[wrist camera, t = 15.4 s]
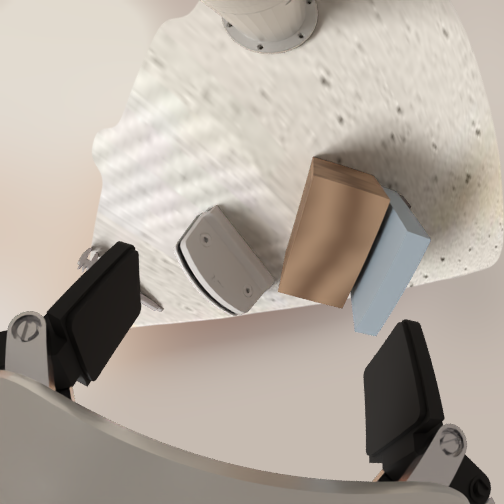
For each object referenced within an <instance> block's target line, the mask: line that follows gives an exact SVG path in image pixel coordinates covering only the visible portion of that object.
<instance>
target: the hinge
mask: <svg viewBox="0 0 504 504" xmlns="http://www.w3.org/2000/svg"><path fill="white" fill-rule="evenodd" d="M174 253H175V256H176V258H177V260H178V262H179V264H180V266H181V268H182V270H183V272H184V273H185V275H186V277H187V278H188V280H189V281H190V282H191V284H192V285H193V286H194V287H195V289H196V290H197V291H198V292H199V293H200V294H201V295H202V296H203V297H204V298H205V299H206V300H207V301H208V302H210V303H211V304H212V305H214V306H215V307H216V308H218V309H220V310H221V311H223V312H225V313H227V314H229V315H234V316H236V315H242V314H244V313H247V312H248V311H249V310H250V309H251V308H252V306H253V305H254V304H255V303H256V302H257V300H258V299H259V298H260V297H261V296H262V294H263V293H264V292H265V291H267V290H268V289H269V288H270V287H271V286H272V285H273V283H274V281H275V279H274V278H273V277H272V275H271V274H270V273H269V271H268V270H267V269H266V268H265V266H264V265H263V264H262V262H261V261H260V260H259V259H258V257H257V256H256V255H255V253H254V252H253V251H252V250H251V248H250V247H249V246H248V244H247V243H246V242H245V241H244V239H243V238H242V237H241V235H240V234H239V233H238V232H237V230H236V229H235V228H234V226H233V225H232V224H231V223H230V221H229V220H228V219H227V218H226V216H225V215H224V214H223V212H222V211H221V210H220V209H219V207H218V206H217V205H216V206H214V207H213V208H212V209H211V210H210V211H207V212H204V213H201V215H200V216H199V217H196V218H195V219H194V220H193V222H192V223H191V224H190V226H189V227H188V228H187V230H186V231H185V233H184V234H183V235H182V237H181V238H180V239H179V241H178V242H177V244H176V245H175V246H174Z"/></svg>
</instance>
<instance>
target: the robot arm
mask: <svg viewBox="0 0 504 504" xmlns="http://www.w3.org/2000/svg"><path fill="white" fill-rule="evenodd" d="M200 1H201V2H203V3H204V4H205V5H207V6H208V7H210V8H211V9H212V10H214V11H215V12H216V13H218V14H219V15H220V16H221V17H222V23H223V25H224V28H225V30H226V32H227V34H228V35H229V36H230V37H231V38H232V39H233V41H235V42H236V43H237V44H239V45H240V46H242V47H244V48H245V49H248V50H250V51H253V52H257V53H262V54H277V53H283V52H287V51H290V50H292V49H294V48H296V47H298V46H300V45H301V44H303V43H304V42H305V41H306V40H307V39H308V38H309V37H310V36H311V34H312V33H313V31H314V30H315V27H316V24H317V19H318V9H317V5H316V2H315V0H200ZM308 2H310V3H311V4H307V3H308ZM230 25H232V27H229V26H230ZM301 35H302V36H303V38H300V36H301ZM261 46H262V47H263V49H260V47H261ZM140 311H141V296H140V278H139V254H138V251H136V250H135V247H134V246H133V245H131V244H127V243H124V242H121V241H119V242H117V243H116V244H115V245H114V246H112V247H111V248H110V249H109V250H108V251H107V252H106V253H105V254H104V255H103V256H102V257H101V258H100V259H99V260H97V261H96V262H95V263H94V264H93V265H92V266H91V267H90V268H89V269H88V270H87V271H86V272H85V273H84V274H83V275H82V276H81V277H80V278H79V279H78V280H77V281H76V282H75V283H74V284H73V285H72V286H71V287H70V288H69V289H68V290H67V291H66V292H65V293H64V294H63V295H62V296H61V297H60V299H59V300H58V301H57V302H56V303H55V304H54V305H53V306H52V307H51V308H50V309H49V310H48V311H47V314H46V315H45V316H44V317H43V316H42V315H40V314H39V313H37V312H33V311H27V312H23V313H20V314H19V315H17V316H15V317H14V319H12V321H11V322H10V324H9V326H8V330H7V331H2V332H0V504H495V502H494V500H493V499H492V497H491V498H489V495H490V491H491V486H490V481H489V479H488V477H487V476H486V475H485V474H484V473H483V472H482V471H481V470H480V469H479V468H478V467H477V466H476V465H475V464H474V463H473V462H472V461H471V460H470V459H469V458H468V457H467V456H466V455H465V453H466V449H467V441H466V437H465V435H464V433H463V431H462V430H461V429H460V428H459V427H458V426H456V425H454V424H445V425H443V423H442V421H443V420H444V413H443V408H442V404H441V399H440V394H439V390H438V386H437V381H436V378H435V374H434V370H433V366H432V362H431V358H430V355H429V351H428V348H427V345H426V341H425V338H424V335H423V332H422V329H421V325H420V323H418V322H415V321H411V320H403V321H402V322H399V323H398V324H397V325H396V326H395V328H394V329H393V331H392V332H391V334H390V335H389V336H388V338H387V340H386V341H385V342H384V344H383V345H382V347H381V348H380V349H379V351H378V352H377V354H376V355H375V356H374V358H373V359H372V360H371V362H370V363H369V364H368V366H367V367H366V368H365V371H364V391H365V415H366V453H367V455H369V462H370V463H382V464H383V469H382V470H381V471H380V473H379V474H378V475H377V476H376V477H375V479H374V480H373V481H372V482H364V481H363V482H362V481H339V480H325V479H315V478H306V477H298V476H291V475H284V474H278V473H272V472H266V471H261V470H256V469H251V468H247V467H242V466H238V465H234V464H230V463H226V462H222V461H218V460H215V459H211V458H208V457H204V456H201V455H198V454H194V453H191V452H188V451H185V450H182V449H179V448H176V447H173V446H171V445H168V444H165V443H162V442H160V441H157V440H154V439H152V438H149V437H147V436H145V435H142V434H139V433H137V432H135V431H132V430H130V429H128V428H126V427H124V426H121V425H119V424H117V423H115V422H113V421H111V420H109V419H107V418H105V417H103V416H101V415H99V414H97V413H95V412H92V411H91V410H89V409H87V408H85V407H83V406H81V405H79V404H77V403H76V402H75V398H74V392H73V388H72V387H73V385H74V384H75V382H76V381H78V382H80V383H82V384H84V385H85V386H88V385H89V383H90V382H91V381H95V380H96V379H97V378H98V376H99V375H100V373H101V371H102V370H103V368H104V367H105V365H106V364H107V362H108V361H109V359H110V358H111V356H112V354H113V353H114V351H115V350H116V348H117V347H118V345H119V344H120V342H121V341H122V339H123V338H124V336H125V335H126V333H127V332H128V330H129V329H130V327H131V326H132V325H133V323H134V322H135V320H136V319H137V317H138V316H139V314H140ZM488 498H489V499H488Z"/></svg>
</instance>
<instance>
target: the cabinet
mask: <svg viewBox="0 0 504 504" xmlns="http://www.w3.org/2000/svg"><path fill="white" fill-rule="evenodd" d="M399 196H400V197H401V198H402V200H403V201H404V202H405V204H406V205H407V206H408V208H409V209H410V208H411V206H410V204H409V203H408V202H407V201H406V199H405V198H404V197H403V196H401V195H399ZM389 203H390V199H389V197H388V196H387V194H386V193H385V191H384V190H383V188H382V187H381V185H380V184H379V183H378V181H377V180H376V178H375V177H374V176H373V175H370V174H367V173H364V172H361V171H358V170H355V169H352V168H349V167H345V166H342V165H339V164H336V163H333V162H329V161H326V160H322V159H319V158H316V157H313V159H312V163H311V166H310V170H309V173H308V177H307V181H306V184H305V188H304V191H303V195H302V198H301V202H300V205H299V209H298V212H297V216H296V219H295V223H294V226H293V229H292V233H291V236H290V239H289V243H288V246H287V249H286V253H285V258H284V263H283V268H282V274H281V279H280V284H279V289H278V292H280V293H284V294H288V295H292V296H295V297H299V298H303V299H307V300H311V301H314V302H318V303H322V304H326V305H330V306H334V307H338V308H343V306H344V304H345V302H346V300H347V298H348V296H349V294H350V292H351V290H352V288H353V286H354V283H355V281H356V279H357V277H358V275H359V273H360V271H361V269H362V266H363V264H364V262H365V260H366V258H367V255H368V253H369V251H370V249H371V246H372V244H373V242H374V239H375V237H376V235H377V232H378V230H379V228H380V225H381V223H382V220H383V218H384V215H385V213H386V210H387V208H388V205H389Z"/></svg>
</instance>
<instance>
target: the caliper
mask: <svg viewBox="0 0 504 504" xmlns="http://www.w3.org/2000/svg"><path fill="white" fill-rule="evenodd" d="M91 250H92V248H89V249H88V250H86V251H85V252H84V253H83V254H82V256H81V257H80V259H79V261H78V264H79V267H78V269H80V268H81V267H82V266H83V267H82V272H83V271H84V269H85V268H87V270H88V269H89V268H90V267H91V266H92V265H93V264H94V263H95V262H96V261H97V259H98V253H97V252H96V254H95V255H94V257H93V259H92V261H90V260H88V259H87V257H88V255H89V253H90V252H91ZM140 296H141V303H142V304H143V305H145V306H147V307H149V308H150V309H152V310H154V311H155V310H157V311H159V312H161V311H162V310H163V309H162V308H161V307H159V306H158V305H157V304H156V303H155V302H154V301H152V300H151V299H149V298H148V297H146V296H144V295H143V294H141V293H140Z"/></svg>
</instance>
